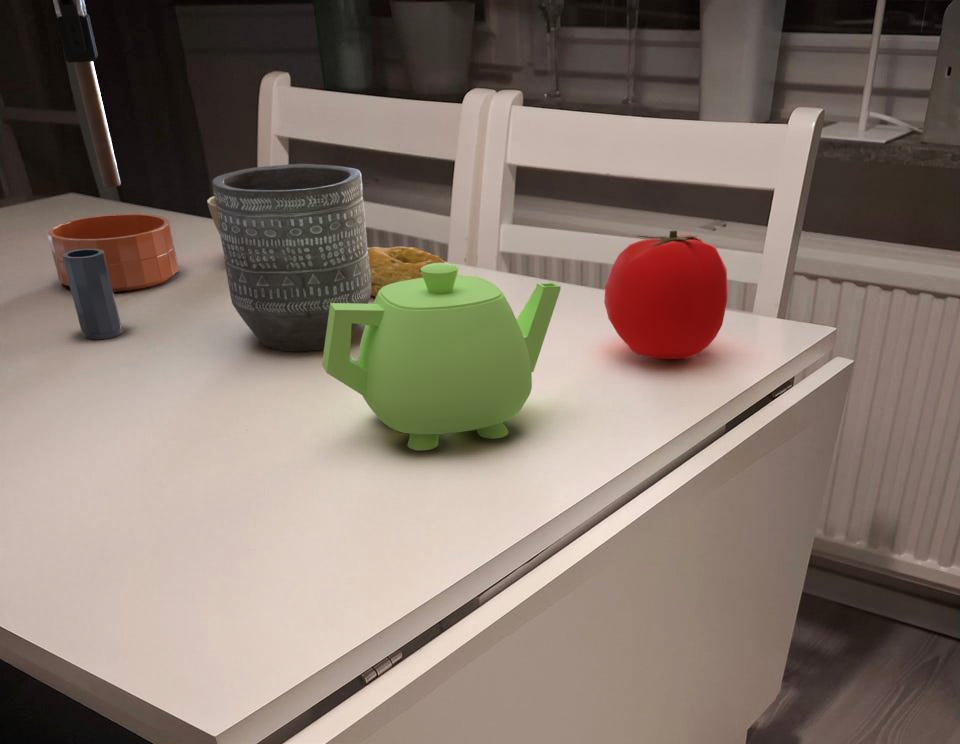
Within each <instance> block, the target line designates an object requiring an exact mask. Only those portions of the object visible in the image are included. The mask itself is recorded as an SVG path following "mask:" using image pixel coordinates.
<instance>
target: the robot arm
mask: <svg viewBox="0 0 960 744" xmlns="http://www.w3.org/2000/svg"><path fill="white" fill-rule="evenodd" d="M52 2H53V5H54V10H55V15H56V18H55V21H56V25H57V30H58V34H59V38H60V42H61V47H62V50H63V54H64V58H65V61H66V62H67V63H69V64H70V63H74V62H91V61H93V62H95V61H96V59H97V58H98V50H97V46H96V42H95V36H94V32H93V28H92V23H91V19H90V15H89V14H88V13H87V8H86V4H85V0H52Z"/></svg>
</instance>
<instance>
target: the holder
mask: <svg viewBox="0 0 960 744" xmlns="http://www.w3.org/2000/svg"><path fill="white" fill-rule="evenodd" d="M62 258H63V262H64V265H65V269H66V273H67V277H68V281H69V285H70V286H69V288H70V293H71V296H72V299H73V304H74V307H75V311H76V315H77V319H78V323H79V328H80V331H81V332H82V336H83V338H85V339H88V340H94V341H95V340H107V339H111V338H116V337H118V336H120V335H121V334H122V333H123V329H122V323H121V318H120V314H119V310H118V306H117V301H116V296H115V292H113V288H112V284H111V279H110V275H109V271H108V267H107V262H106V258H105V254H104V251H103V250H100V249H79V250H72V251H69V252H66V253H64V254H63V256H62Z"/></svg>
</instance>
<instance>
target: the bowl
mask: <svg viewBox="0 0 960 744" xmlns="http://www.w3.org/2000/svg"><path fill="white" fill-rule="evenodd" d="M46 235H47V239H48V243H49V246H50V250H51V254H52V258H53V261H54V265H55V270H56V273H57V277H58V281H59V282H60V283H62V285H64V286H68V287H70V285H69V281H68V277H67V273H66V269H65V265H64V262H63V258H62V256H63V254H64V253H66V252H69V251H72V250H79V249H100V250H103V251H104V254H105V258H106V262H107V267H108V271H109V275H110V279H111V284H112V288H113V292H114V293H119V292H120V293H121V292H129V291H135V290H140V289H141V290H142V289H146V288H150V287H153V286H156V285H159V284H161V283H164V282H166V281H168V280H169V279H171V277H173V276H174V275H175V274H176V273H178V272H179V265H178V264H179V263H178V258H177V254H176V253H177V252H176V248H175V244H174V243H175V242H174V237H173V233H172V228H171V223H170V220H169V219H168V218H166V217H164V216H161V215H156V214H149V213H148V214H147V213H114V214H113V213H111V214H103V215H102V214H101V215H100V214H99V215H94V216H85V217H80V218H75V219H71V220H67V221H63V222H60V223H58V224H55V225H53V226H52V227H50V228H48V229H47V232H46Z"/></svg>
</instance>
